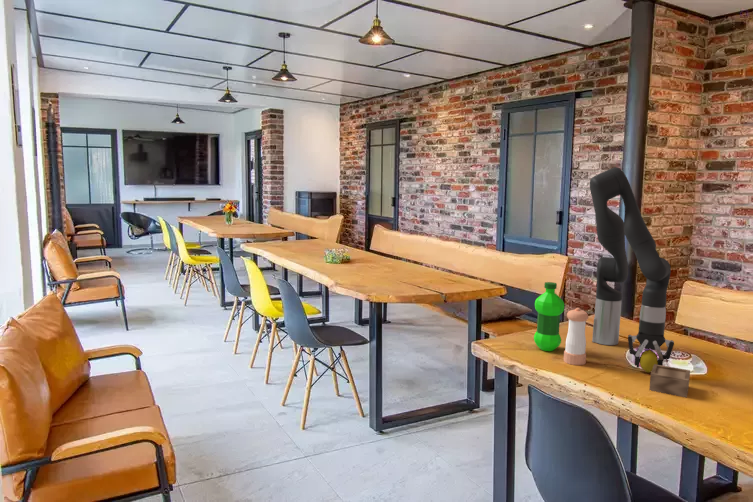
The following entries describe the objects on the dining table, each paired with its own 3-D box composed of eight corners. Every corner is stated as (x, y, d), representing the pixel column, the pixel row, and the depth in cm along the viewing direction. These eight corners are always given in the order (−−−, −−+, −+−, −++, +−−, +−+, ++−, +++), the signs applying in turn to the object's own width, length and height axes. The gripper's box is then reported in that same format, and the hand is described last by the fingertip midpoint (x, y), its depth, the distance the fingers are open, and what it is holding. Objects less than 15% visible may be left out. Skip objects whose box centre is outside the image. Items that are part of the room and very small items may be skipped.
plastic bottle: (534, 343, 215) (538, 279, 211) (563, 347, 210) (567, 282, 207) (530, 350, 206) (533, 284, 202) (559, 354, 201) (564, 287, 198)
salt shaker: (565, 357, 199) (568, 304, 196) (586, 360, 196) (590, 307, 193) (562, 363, 192) (565, 309, 190) (584, 366, 189) (588, 311, 187)
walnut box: (649, 391, 169) (650, 373, 169) (652, 380, 178) (654, 364, 177) (686, 398, 164) (688, 380, 163) (688, 387, 173) (690, 370, 172)
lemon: (656, 371, 186) (658, 348, 184) (657, 376, 181) (659, 353, 179) (638, 368, 188) (640, 345, 187) (638, 374, 183) (640, 350, 182)
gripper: (627, 318, 181) (623, 368, 184) (677, 324, 175) (673, 375, 177) (628, 313, 188) (624, 361, 190) (676, 319, 182) (672, 368, 184)
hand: (648, 368), depth 184 cm, fingers closed on lemon, 5 cm apart
